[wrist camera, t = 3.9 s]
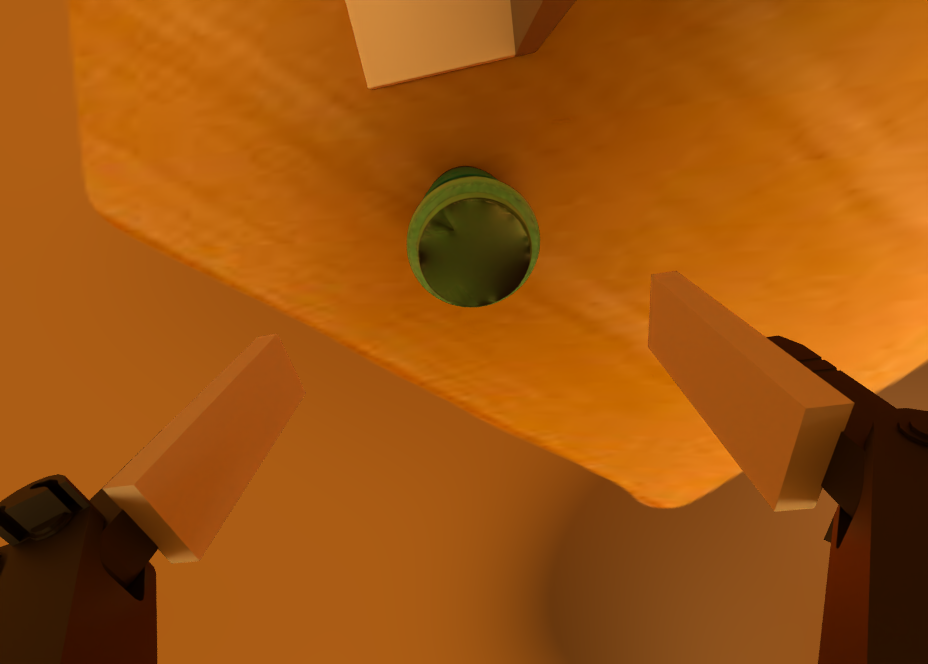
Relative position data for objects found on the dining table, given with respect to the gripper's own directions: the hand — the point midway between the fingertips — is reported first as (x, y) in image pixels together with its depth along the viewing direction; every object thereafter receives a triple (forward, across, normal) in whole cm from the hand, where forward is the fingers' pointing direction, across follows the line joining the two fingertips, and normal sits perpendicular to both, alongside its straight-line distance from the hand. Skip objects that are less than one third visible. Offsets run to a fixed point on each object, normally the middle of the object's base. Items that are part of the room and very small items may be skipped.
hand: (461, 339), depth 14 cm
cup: (+22, 0, 0) cm, 22 cm away
